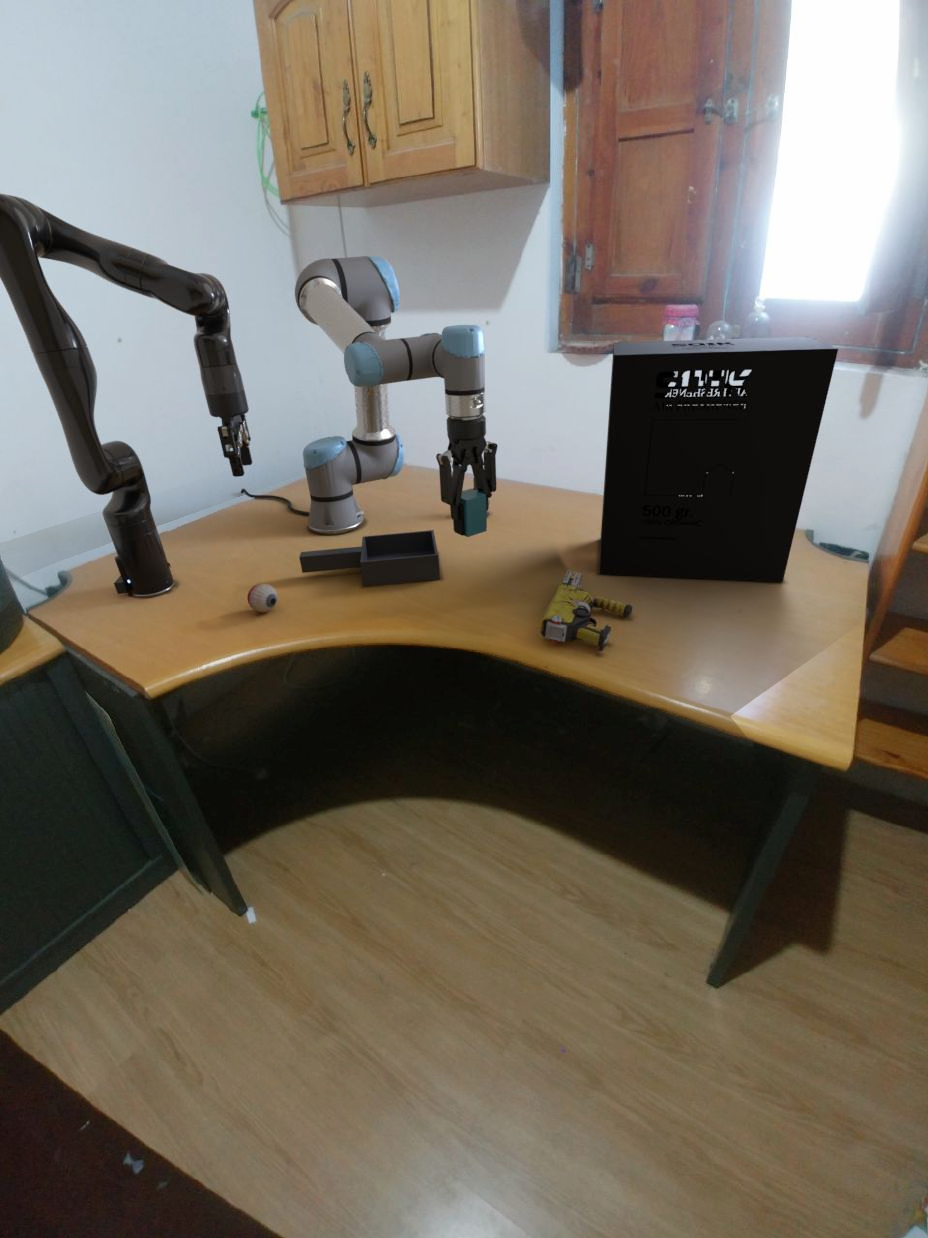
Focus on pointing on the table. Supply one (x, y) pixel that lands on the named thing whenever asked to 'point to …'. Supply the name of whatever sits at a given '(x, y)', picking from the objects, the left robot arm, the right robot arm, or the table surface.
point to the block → (474, 512)
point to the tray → (382, 558)
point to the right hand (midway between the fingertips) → (470, 529)
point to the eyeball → (262, 597)
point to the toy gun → (578, 614)
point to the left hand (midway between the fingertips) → (243, 470)
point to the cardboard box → (710, 455)
